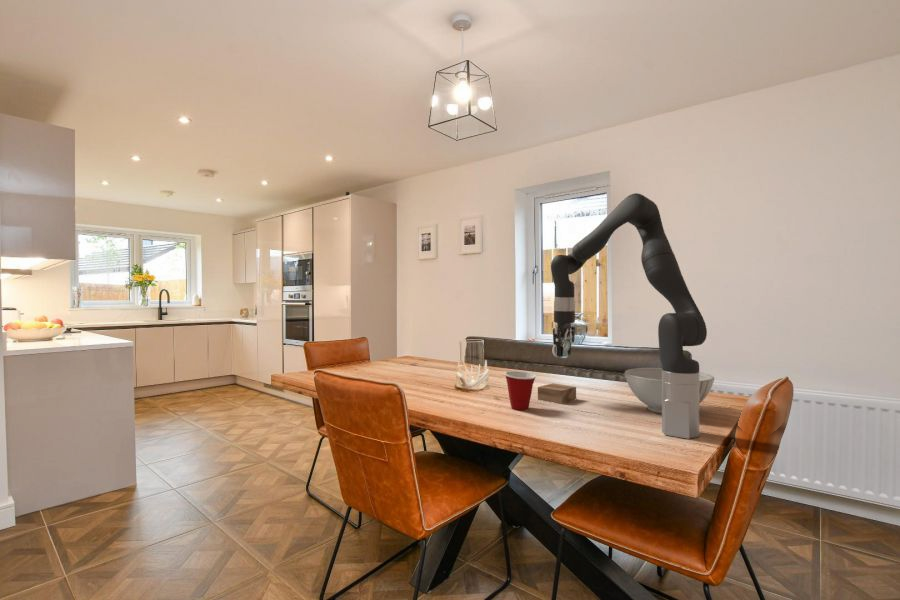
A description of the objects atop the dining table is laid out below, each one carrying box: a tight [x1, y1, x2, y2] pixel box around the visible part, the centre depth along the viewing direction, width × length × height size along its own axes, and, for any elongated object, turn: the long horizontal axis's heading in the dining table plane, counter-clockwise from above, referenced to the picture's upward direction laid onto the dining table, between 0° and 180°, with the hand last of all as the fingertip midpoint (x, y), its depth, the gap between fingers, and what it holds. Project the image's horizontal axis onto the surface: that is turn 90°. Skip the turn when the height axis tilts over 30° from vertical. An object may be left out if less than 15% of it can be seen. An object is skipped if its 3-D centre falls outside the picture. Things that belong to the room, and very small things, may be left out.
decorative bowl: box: [624, 367, 715, 414], centre depth 150 cm, size 27×27×12 cm
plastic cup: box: [504, 370, 537, 411], centre depth 153 cm, size 11×11×12 cm
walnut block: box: [537, 383, 577, 405], centre depth 166 cm, size 10×10×5 cm
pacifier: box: [551, 340, 570, 359], centre depth 164 cm, size 7×6×6 cm
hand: (564, 355), depth 165 cm, fingers closed on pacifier, 6 cm apart
